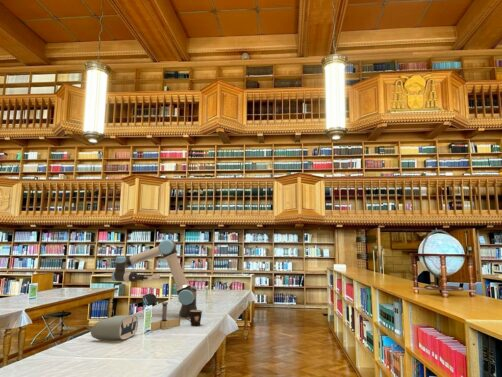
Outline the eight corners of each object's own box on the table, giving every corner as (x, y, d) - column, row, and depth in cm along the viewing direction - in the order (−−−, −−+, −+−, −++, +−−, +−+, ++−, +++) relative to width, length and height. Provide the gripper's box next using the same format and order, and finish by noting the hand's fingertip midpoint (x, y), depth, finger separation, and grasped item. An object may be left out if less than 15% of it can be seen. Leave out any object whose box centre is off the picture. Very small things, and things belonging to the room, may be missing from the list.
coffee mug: (202, 324, 272) (203, 309, 274) (200, 326, 264) (200, 312, 266) (187, 323, 274) (187, 309, 275) (183, 326, 265) (184, 311, 267)
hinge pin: (164, 327, 260) (165, 301, 263) (167, 328, 258) (169, 302, 260) (159, 328, 258) (160, 302, 260) (162, 329, 255) (164, 303, 257)
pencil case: (119, 343, 217) (119, 319, 219) (89, 342, 221) (90, 319, 223) (137, 334, 238) (138, 313, 240) (110, 334, 242) (111, 313, 244)
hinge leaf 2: (177, 324, 269) (177, 317, 270) (182, 326, 265) (182, 318, 266) (157, 328, 258) (157, 320, 258) (162, 329, 253) (162, 321, 254)
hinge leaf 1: (165, 326, 262) (165, 319, 263) (170, 327, 258) (170, 320, 259) (144, 330, 250) (144, 322, 251) (149, 331, 246) (149, 324, 247)
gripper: (138, 280, 308) (162, 280, 304) (122, 283, 284) (148, 283, 279) (138, 271, 309) (162, 271, 305) (122, 273, 285) (148, 273, 281)
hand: (155, 277), depth 292 cm, fingers open, 13 cm apart
